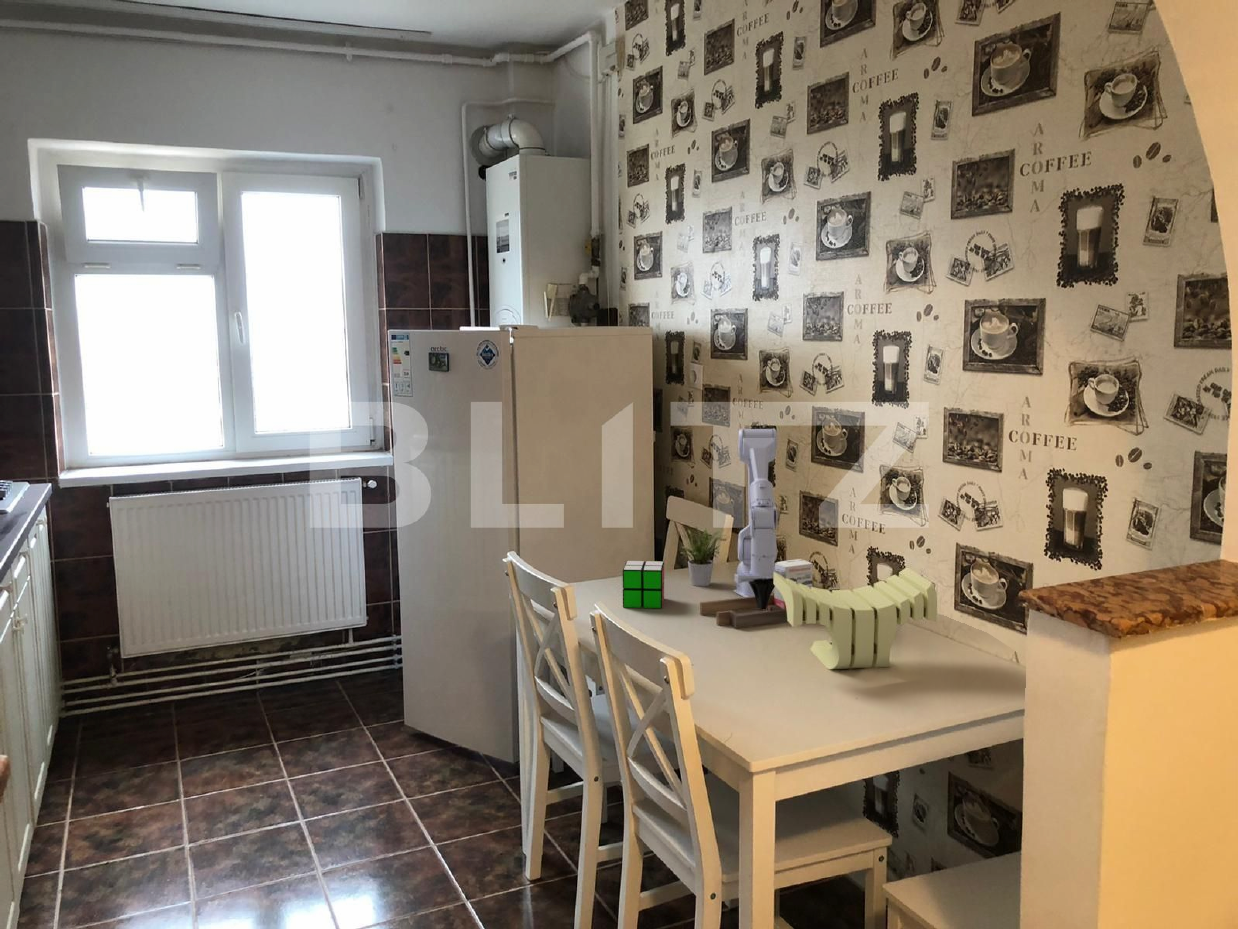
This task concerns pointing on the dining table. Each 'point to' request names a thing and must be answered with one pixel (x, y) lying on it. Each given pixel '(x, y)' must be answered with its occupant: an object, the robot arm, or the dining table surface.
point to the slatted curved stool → (859, 616)
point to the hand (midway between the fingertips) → (761, 608)
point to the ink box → (793, 576)
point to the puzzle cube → (643, 584)
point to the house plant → (701, 558)
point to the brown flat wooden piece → (728, 615)
